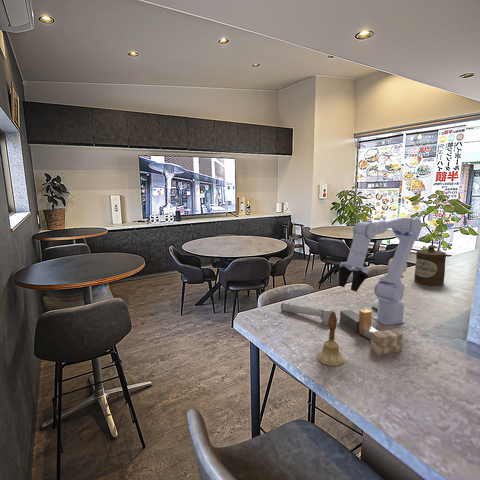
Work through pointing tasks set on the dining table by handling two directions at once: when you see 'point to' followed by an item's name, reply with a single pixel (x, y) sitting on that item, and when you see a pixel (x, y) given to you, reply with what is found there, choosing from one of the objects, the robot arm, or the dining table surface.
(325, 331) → the dining table surface
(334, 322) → the hand bell
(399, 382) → the dining table surface
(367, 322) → the brown and grey block
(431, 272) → the wooden container
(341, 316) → the sleeve
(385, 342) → the socket block
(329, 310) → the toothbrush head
